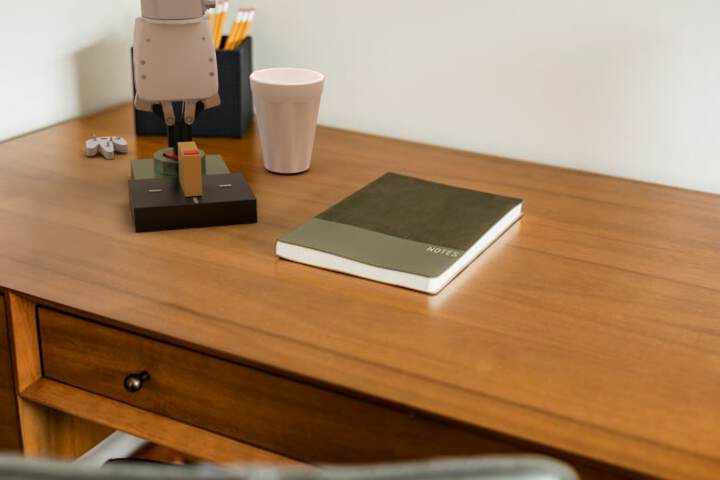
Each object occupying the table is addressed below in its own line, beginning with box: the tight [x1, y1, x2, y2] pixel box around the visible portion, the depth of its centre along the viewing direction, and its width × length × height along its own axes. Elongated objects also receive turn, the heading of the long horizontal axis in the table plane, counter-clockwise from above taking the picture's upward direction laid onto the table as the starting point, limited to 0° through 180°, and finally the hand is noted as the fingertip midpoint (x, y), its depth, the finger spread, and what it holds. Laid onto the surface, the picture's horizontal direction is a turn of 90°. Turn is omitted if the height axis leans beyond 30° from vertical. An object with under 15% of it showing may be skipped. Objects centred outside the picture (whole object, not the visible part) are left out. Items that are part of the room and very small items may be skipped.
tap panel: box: [127, 172, 258, 233], centre depth 108 cm, size 14×10×3 cm
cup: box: [249, 67, 325, 174], centre depth 122 cm, size 10×10×13 cm
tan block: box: [178, 141, 202, 197], centre depth 106 cm, size 6×2×5 cm, turn 17°
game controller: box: [85, 133, 129, 160], centre depth 130 cm, size 6×12×3 cm, turn 45°
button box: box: [129, 147, 231, 180], centre depth 117 cm, size 12×9×4 cm
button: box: [165, 149, 178, 159], centre depth 117 cm, size 4×4×2 cm
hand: (180, 151), depth 117 cm, fingers closed
